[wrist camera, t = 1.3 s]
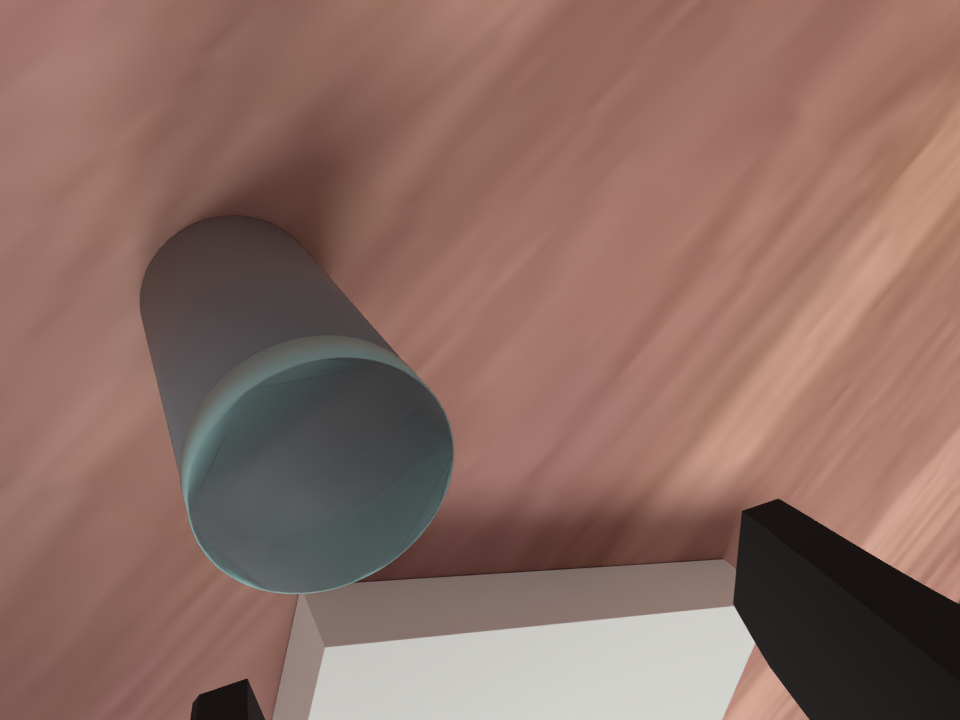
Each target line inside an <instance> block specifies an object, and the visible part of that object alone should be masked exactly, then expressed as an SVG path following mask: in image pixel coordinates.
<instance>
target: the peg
mask: <svg viewBox="0 0 960 720" xmlns="http://www.w3.org/2000/svg"><path fill="white" fill-rule="evenodd" d="M140 311H141V317H142V321H143V326H144V330H145V334H146V338H147V342H148V346H149V350H150V354H151V359H152V363H153V367H154V371H155V375H156V379H157V383H158V387H159V392H160V396H161V400H162V404H163V408H164V412H165V416H166V420H167V425H168V429H169V433H170V437H171V441H172V445H173V449H174V453H175V458H176V462H177V466H178V470H179V474H180V484H181V489H182V493H183V497H184V501H185V505H186V509H187V514H188V518H189V521H190V525H191V529H192V531H193V534H194V536H195V538H196V540H197V543H198V544H199V546H200V547H201V549H202V550H203V552H204V553H205V555H206V556H207V557H208V558H209V559H210V560H211V561H212V562H213V563H214V564H215V565H216V567H218V568H219V569H220V570H222V571H223V572H224V573H226V574H227V575H228V576H230V577H232V578H233V579H235V580H237V581H239V582H241V583H243V584H245V585H248V586H251V587H253V588H256V589H260V590H264V591H269V592H274V593H284V594H307V593H316V592H323V591H327V590H331V589H336V588H339V587H342V586H345V585H348V584H351V583H354V582H356V581H358V580H361V579H363V578H365V577H367V576H369V575H371V574H373V573H375V572H376V571H378V570H380V569H382V568H383V567H385V566H386V565H388V564H389V563H391V562H392V561H393V560H395V559H396V558H398V557H399V556H400V555H401V554H402V553H403V552H404V551H406V550H407V549H408V548H409V547H410V546H411V545H412V544H413V543H414V542H415V541H416V540H417V539H418V538H419V537H420V536H421V534H422V533H423V532H424V531H425V529H426V528H427V527H428V525H429V524H430V523H431V521H432V520H433V518H434V516H435V515H436V513H437V512H438V510H439V508H440V506H441V504H442V502H443V500H444V497H445V495H446V492H447V489H448V486H449V483H450V480H451V475H452V470H453V462H454V443H453V435H452V431H451V427H450V423H449V421H448V418H447V415H446V413H445V411H444V409H443V407H442V406H441V404H440V402H439V401H438V399H437V398H436V396H435V395H434V394H433V393H432V392H431V390H430V389H429V388H428V387H427V386H426V385H425V383H424V382H423V381H422V380H421V379H420V378H419V377H418V376H417V374H416V373H415V372H414V371H413V370H412V369H411V368H410V367H409V366H408V365H407V364H406V363H405V362H404V361H403V360H402V359H401V358H400V357H399V356H398V355H397V354H396V352H395V351H394V350H393V349H392V348H391V347H390V346H389V344H388V343H387V342H386V341H385V340H384V339H383V338H382V337H381V335H380V334H379V333H378V332H377V331H376V330H375V329H374V327H373V326H372V325H371V324H370V323H369V322H368V321H367V319H366V318H365V317H364V316H363V315H362V314H361V313H360V311H359V310H358V309H357V308H356V307H355V306H354V305H353V303H352V302H351V301H350V300H349V299H348V298H347V297H346V295H345V294H344V293H343V292H342V291H341V290H340V289H339V288H338V286H337V285H336V284H335V283H334V282H333V281H332V280H331V278H330V277H329V276H328V275H327V274H326V273H325V272H324V270H323V269H322V268H321V267H320V266H319V265H318V264H317V262H316V261H315V260H314V259H313V258H312V257H311V256H310V254H309V253H308V252H307V251H306V250H305V249H304V248H303V247H302V245H301V244H300V243H299V242H298V241H297V240H296V239H295V238H294V237H292V236H291V235H290V234H289V233H287V232H286V231H284V230H283V229H281V228H279V227H277V226H275V225H274V224H272V223H269V222H266V221H263V220H261V219H256V218H252V217H246V216H221V217H215V218H210V219H207V220H203V221H200V222H198V223H195V224H193V225H191V226H188V227H187V228H185V229H183V230H182V231H180V232H178V233H177V234H176V235H174V236H173V237H172V238H171V239H169V240H168V241H167V242H166V243H165V244H164V245H163V246H162V247H161V248H160V249H159V251H158V252H157V253H156V255H155V256H154V258H153V259H152V261H151V263H150V264H149V266H148V268H147V270H146V273H145V276H144V279H143V282H142V287H141V292H140Z"/></svg>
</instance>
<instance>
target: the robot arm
mask: <svg viewBox="0 0 960 720" xmlns="http://www.w3.org/2000/svg"><path fill="white" fill-rule="evenodd" d="M733 605H734V607H735V609H736V610H737V612H738V614H739V616H740V617H741V619H742V621H743V623H744V624H745V626H746V628H747V630H748V631H749V633H750V635H751V637H752V638H753V640H754V642H755V643H756V645H757V647H758V648H759V650H760V651H761V653H762V655H763V656H764V658H765V660H766V661H767V663H768V665H769V666H770V668H771V669H772V670H773V672H774V673H775V674H776V676H777V677H778V678H779V680H780V681H781V682H782V684H783V685H784V686H785V688H786V689H787V690H788V692H789V693H790V694H791V696H792V697H793V698H794V700H795V701H796V702H797V704H798V705H799V706H800V708H801V709H802V710H803V712H804V713H805V714H806V716H807V717H808V718H809V719H810V720H960V605H959V604H958V603H956V602H954V601H952V600H950V599H948V598H946V597H945V596H943V595H941V594H939V593H937V592H936V591H934V590H932V589H930V588H928V587H927V586H925V585H923V584H921V583H920V582H918V581H916V580H914V579H913V578H911V577H909V576H907V575H906V574H904V573H902V572H900V571H899V570H897V569H895V568H893V567H892V566H890V565H888V564H887V563H885V562H883V561H882V560H880V559H878V558H876V557H875V556H873V555H871V554H870V553H868V552H866V551H865V550H863V549H861V548H860V547H858V546H856V545H855V544H853V543H851V542H850V541H848V540H846V539H845V538H843V537H841V536H840V535H838V534H837V533H835V532H833V531H832V530H830V529H828V528H827V527H825V526H823V525H822V524H820V523H818V522H817V521H815V520H813V519H812V518H810V517H809V516H807V515H805V514H804V513H802V512H800V511H799V510H797V509H795V508H794V507H792V506H790V505H788V504H787V503H785V502H783V501H782V500H780V499H776V500H773V501H770V502H767V503H764V504H761V505H758V506H755V507H752V508H749V509H746V510H744V511H742V517H741V527H740V537H739V547H738V557H737V567H736V577H735V588H734V598H733ZM190 720H265V718H264V716H263V714H262V711H261V709H260V707H259V704H258V702H257V700H256V697H255V695H254V693H253V690H252V688H251V686H250V683H249V681H248V679H244V680H241V681H238V682H235V683H232V684H230V685H227V686H224V687H221V688H218V689H215V690H212V691H209V692H206V693H203V694H200V695H199V696H198V697H197V698H196V700H195V701H194V702H193V706H192V712H191V719H190Z"/></svg>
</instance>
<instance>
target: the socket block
mask: <svg viewBox="0 0 960 720" xmlns="http://www.w3.org/2000/svg"><path fill="white" fill-rule="evenodd" d="M735 577H736V569H735V568H734V567H733V566H732V565H730V564H729V563H728V562H727V561H726V560H725V559H722V560H706V561H690V562H674V563H659V564H643V565H627V566H611V567H596V568H580V569H564V570H548V571H533V572H517V573H501V574H485V575H469V576H454V577H438V578H422V579H406V580H391V581H375V582H359V583H351V584H348V585H345V586H342V587H339V588H336V589H331V590H327V591H323V592H316V593H307V594H299V597H298V601H297V606H296V611H295V615H294V620H293V625H292V629H291V634H290V639H289V643H288V648H287V653H286V657H285V662H284V667H283V671H282V676H281V681H280V685H279V690H278V695H277V699H276V704H275V709H274V713H273V718H272V720H722V718H723V716H724V714H725V712H726V709H727V707H728V705H729V702H730V700H731V698H732V695H733V693H734V691H735V688H736V686H737V684H738V681H739V679H740V677H741V675H742V672H743V670H744V668H745V665H746V663H747V661H748V658H749V656H750V654H751V651H752V649H753V647H754V644H755V642H754V640H753V638H752V637H751V635H750V633H749V631H748V630H747V628H746V626H745V624H744V623H743V621H742V619H741V617H740V616H739V614H738V612H737V610H736V609H735V607H734V605H733V598H734V588H735Z"/></svg>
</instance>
